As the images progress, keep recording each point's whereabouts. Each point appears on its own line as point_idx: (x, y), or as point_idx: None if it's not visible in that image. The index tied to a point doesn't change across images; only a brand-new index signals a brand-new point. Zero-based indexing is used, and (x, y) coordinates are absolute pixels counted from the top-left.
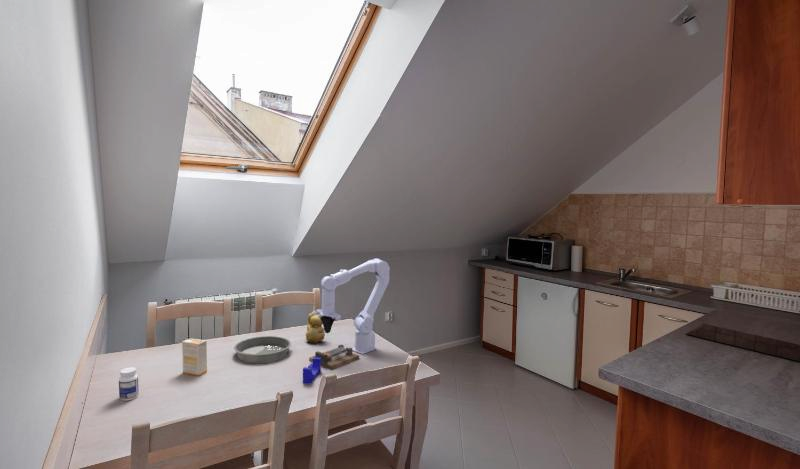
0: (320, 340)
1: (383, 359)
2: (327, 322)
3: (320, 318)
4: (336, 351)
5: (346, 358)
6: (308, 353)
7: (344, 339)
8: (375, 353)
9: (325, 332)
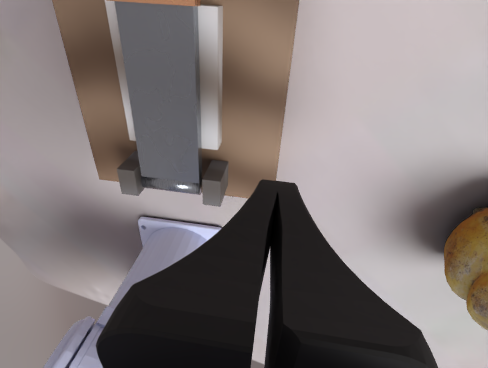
0: (451, 234)
1: (41, 216)
2: (164, 269)
3: (403, 345)
4: (152, 96)
5: (98, 100)
6: (423, 39)
7: None
8: (117, 248)
9: (286, 182)
